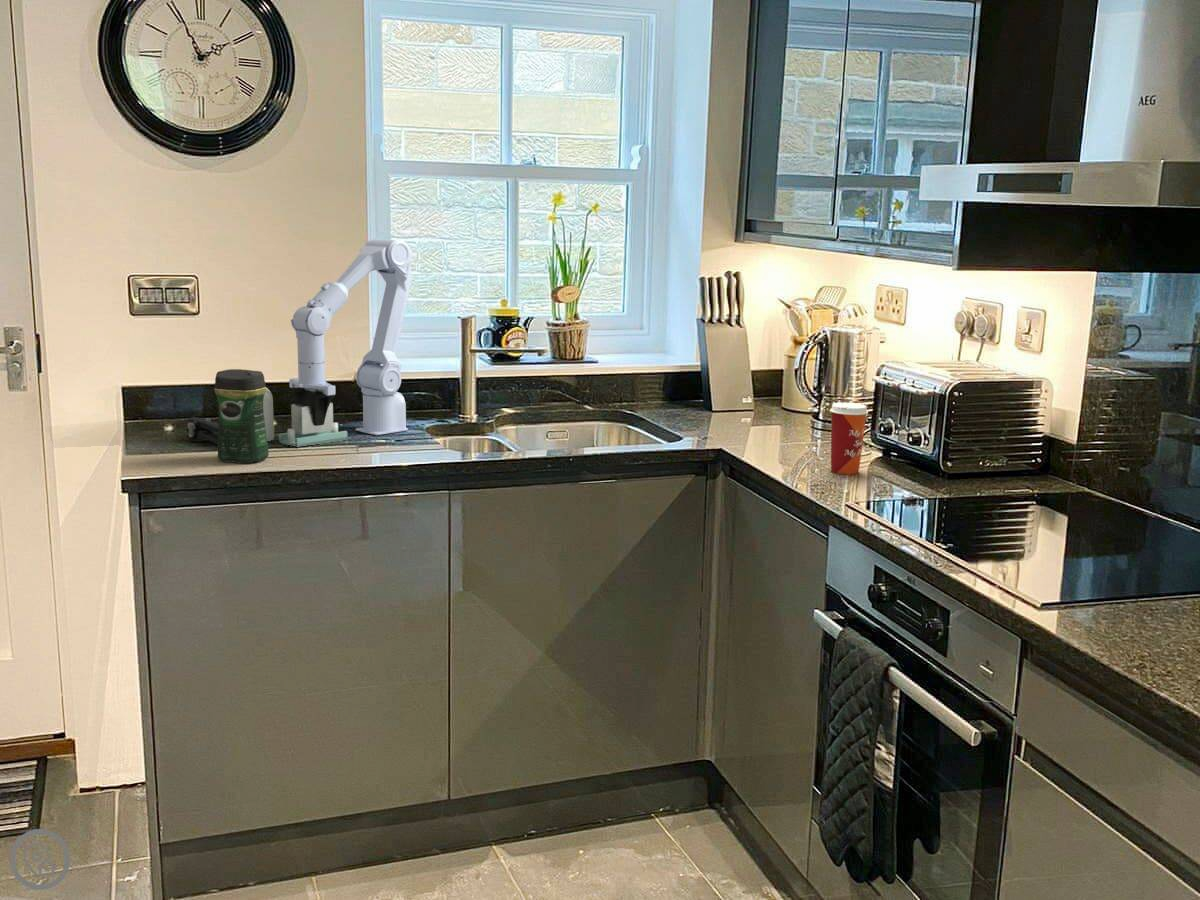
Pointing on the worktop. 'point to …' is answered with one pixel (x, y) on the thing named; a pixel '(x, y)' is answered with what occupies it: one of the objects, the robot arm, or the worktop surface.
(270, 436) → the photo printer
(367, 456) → the worktop surface
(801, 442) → the worktop surface
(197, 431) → the can opener
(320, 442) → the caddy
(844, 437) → the paper cup
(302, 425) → the light grey rectangular block
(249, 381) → the coffee jar
